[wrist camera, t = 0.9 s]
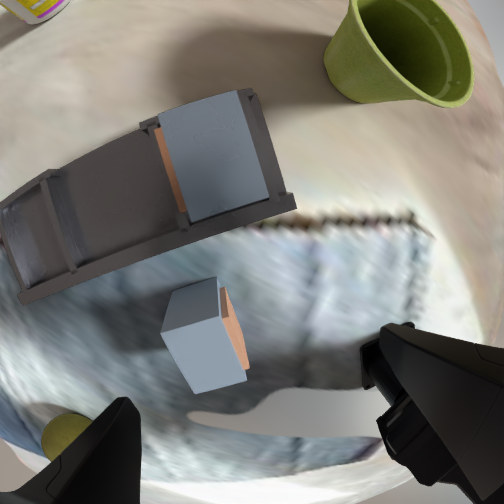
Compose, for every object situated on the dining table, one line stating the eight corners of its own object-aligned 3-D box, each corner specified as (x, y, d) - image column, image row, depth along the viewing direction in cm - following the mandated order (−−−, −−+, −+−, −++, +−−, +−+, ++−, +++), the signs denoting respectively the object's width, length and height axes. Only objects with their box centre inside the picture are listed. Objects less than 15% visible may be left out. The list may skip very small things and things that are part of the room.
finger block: (242, 329, 22) (253, 378, 16) (197, 343, 21) (195, 394, 16) (221, 274, 20) (226, 313, 14) (172, 290, 20) (160, 333, 14)
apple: (44, 398, 21) (22, 440, 14) (97, 404, 22) (80, 454, 15) (73, 438, 23) (59, 478, 16) (124, 444, 24) (115, 490, 17)
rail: (285, 204, 19) (325, 220, 12) (37, 293, 18) (-8, 332, 11) (253, 97, 17) (276, 57, 10) (6, 207, 16) (-50, 223, 9)
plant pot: (381, 146, 19) (461, 141, 11) (280, 80, 17) (326, 24, 9) (412, 70, 17) (479, 46, 9) (327, 8, 15) (375, -46, 7)
